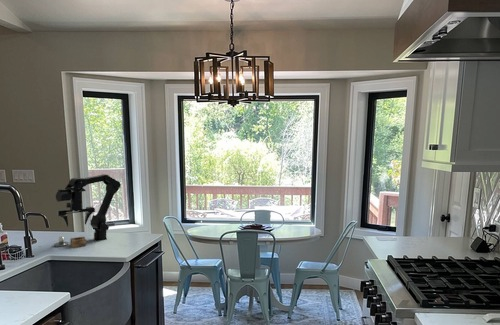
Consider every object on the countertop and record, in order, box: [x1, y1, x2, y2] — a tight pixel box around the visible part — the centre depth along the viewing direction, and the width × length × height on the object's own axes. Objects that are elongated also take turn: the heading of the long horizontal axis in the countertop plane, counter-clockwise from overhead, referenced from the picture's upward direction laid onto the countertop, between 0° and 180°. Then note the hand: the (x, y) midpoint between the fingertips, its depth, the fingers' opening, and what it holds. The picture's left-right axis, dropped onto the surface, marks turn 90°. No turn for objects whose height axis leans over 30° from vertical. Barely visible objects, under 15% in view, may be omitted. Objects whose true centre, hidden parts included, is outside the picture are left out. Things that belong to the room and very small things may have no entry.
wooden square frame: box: [69, 236, 87, 249], centre depth 174 cm, size 7×7×4 cm
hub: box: [53, 235, 69, 248], centre depth 173 cm, size 7×7×5 cm
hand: (76, 225), depth 174 cm, fingers open, 9 cm apart
